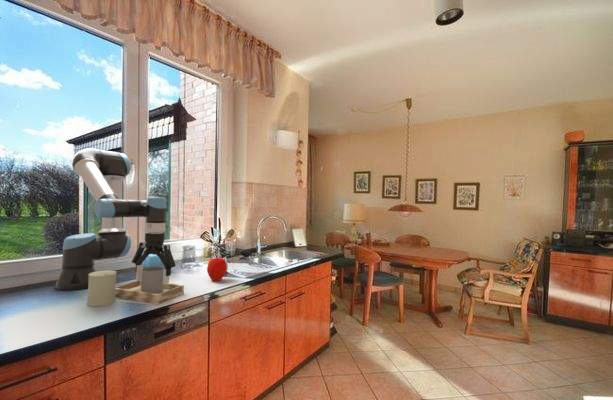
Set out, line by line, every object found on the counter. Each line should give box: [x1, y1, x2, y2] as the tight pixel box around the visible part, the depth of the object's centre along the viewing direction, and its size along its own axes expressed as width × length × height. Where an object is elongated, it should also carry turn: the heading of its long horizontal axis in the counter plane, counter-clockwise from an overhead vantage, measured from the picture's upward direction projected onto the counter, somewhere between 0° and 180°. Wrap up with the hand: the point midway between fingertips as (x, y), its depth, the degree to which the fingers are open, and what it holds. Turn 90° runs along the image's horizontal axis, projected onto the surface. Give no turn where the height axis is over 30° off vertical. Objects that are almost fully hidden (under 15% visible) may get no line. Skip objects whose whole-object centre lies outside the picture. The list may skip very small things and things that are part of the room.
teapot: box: [142, 252, 165, 269], centre depth 157 cm, size 18×16×13 cm
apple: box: [206, 257, 228, 282], centre depth 151 cm, size 10×10×12 cm
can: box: [86, 269, 117, 308], centre depth 113 cm, size 9×9×12 cm
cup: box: [141, 267, 164, 294], centre depth 124 cm, size 8×8×10 cm
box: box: [115, 279, 185, 305], centre depth 124 cm, size 24×15×4 cm, turn 76°
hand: (152, 281), depth 124 cm, fingers open, 13 cm apart
